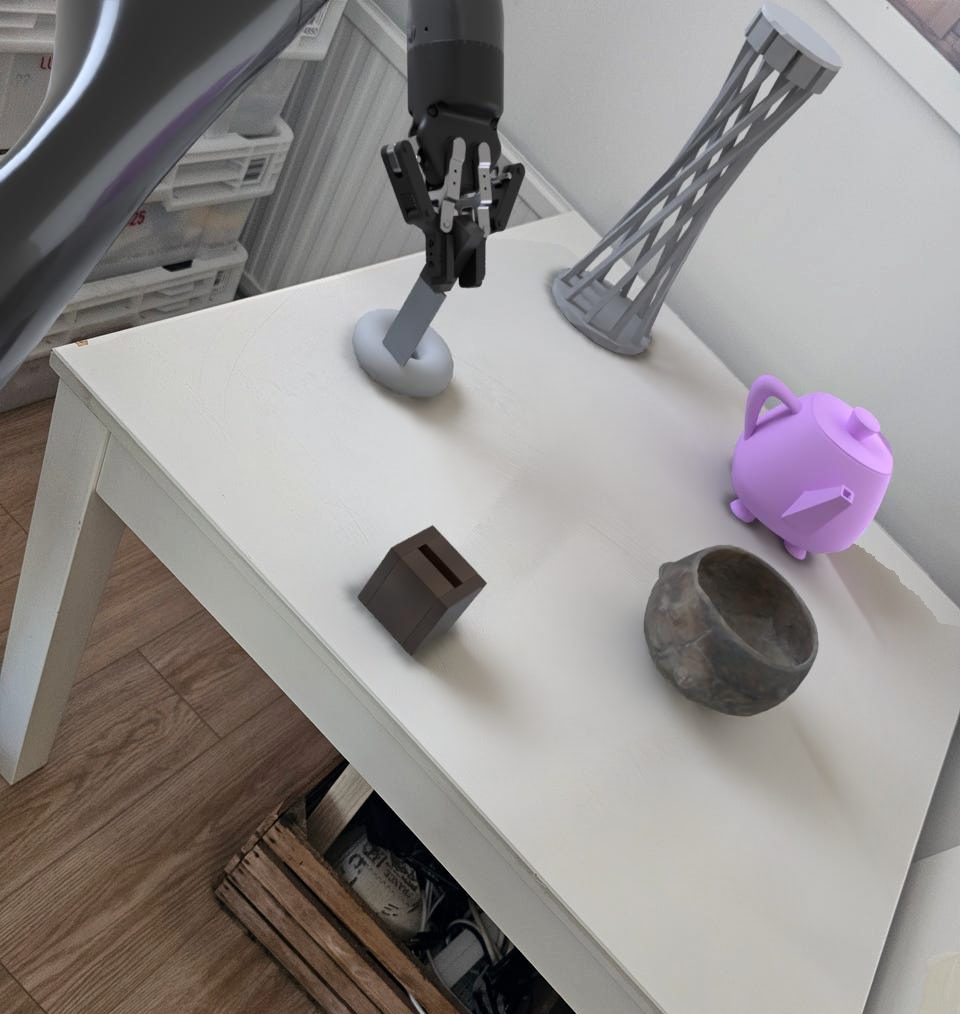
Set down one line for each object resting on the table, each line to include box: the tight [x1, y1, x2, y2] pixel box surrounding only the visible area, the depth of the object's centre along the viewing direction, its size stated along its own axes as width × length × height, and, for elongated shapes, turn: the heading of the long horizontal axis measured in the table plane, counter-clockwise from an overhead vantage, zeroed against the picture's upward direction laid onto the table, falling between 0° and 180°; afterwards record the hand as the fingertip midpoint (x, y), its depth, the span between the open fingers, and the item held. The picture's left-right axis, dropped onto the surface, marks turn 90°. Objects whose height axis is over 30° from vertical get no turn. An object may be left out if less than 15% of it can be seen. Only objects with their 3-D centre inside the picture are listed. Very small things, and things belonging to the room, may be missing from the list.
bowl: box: [643, 544, 819, 718], centre depth 89 cm, size 14×15×10 cm
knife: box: [382, 214, 485, 366], centre depth 87 cm, size 3×2×14 cm, turn 48°
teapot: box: [730, 374, 894, 560], centre depth 109 cm, size 20×20×15 cm
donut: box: [351, 308, 455, 398], centre depth 95 cm, size 10×4×10 cm
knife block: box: [357, 524, 488, 656], centre depth 77 cm, size 6×5×6 cm
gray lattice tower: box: [551, 0, 844, 356], centre depth 112 cm, size 14×13×35 cm
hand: (456, 285), depth 84 cm, fingers closed on knife, 2 cm apart
